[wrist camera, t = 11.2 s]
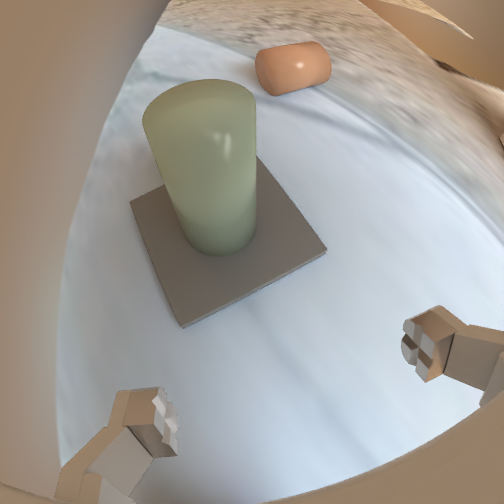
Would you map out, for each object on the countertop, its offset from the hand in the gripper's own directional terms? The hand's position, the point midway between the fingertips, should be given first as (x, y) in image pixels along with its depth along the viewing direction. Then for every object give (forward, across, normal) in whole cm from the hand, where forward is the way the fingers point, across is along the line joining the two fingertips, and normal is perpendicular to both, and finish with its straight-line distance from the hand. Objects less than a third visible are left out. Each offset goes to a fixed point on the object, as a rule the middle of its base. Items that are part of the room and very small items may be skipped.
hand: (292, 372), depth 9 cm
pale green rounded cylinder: (+16, +1, -1) cm, 16 cm away
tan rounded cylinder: (+27, -11, -18) cm, 34 cm away
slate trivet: (+16, +1, -1) cm, 16 cm away
